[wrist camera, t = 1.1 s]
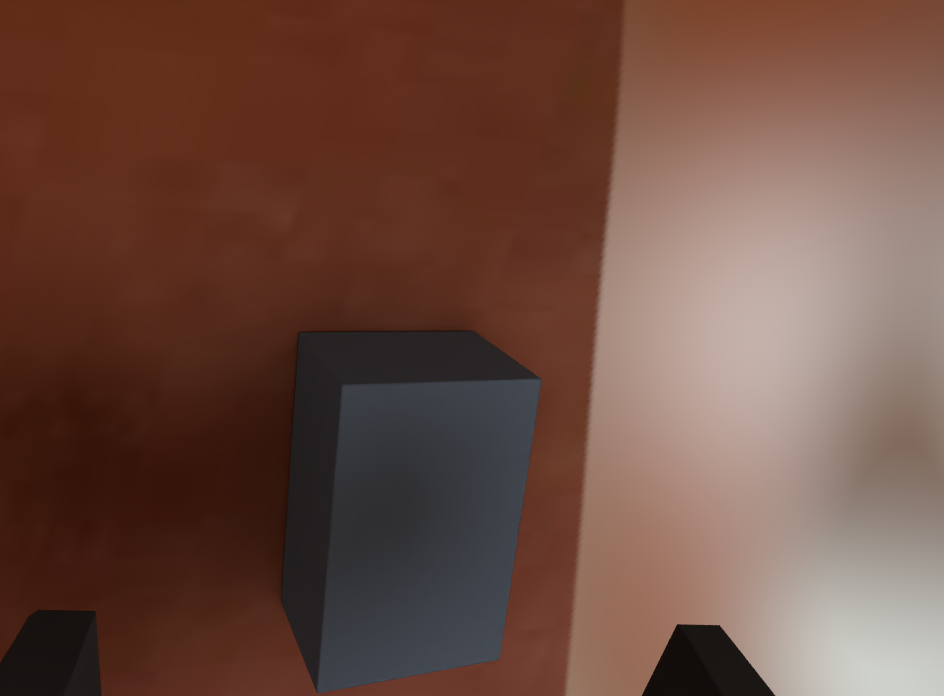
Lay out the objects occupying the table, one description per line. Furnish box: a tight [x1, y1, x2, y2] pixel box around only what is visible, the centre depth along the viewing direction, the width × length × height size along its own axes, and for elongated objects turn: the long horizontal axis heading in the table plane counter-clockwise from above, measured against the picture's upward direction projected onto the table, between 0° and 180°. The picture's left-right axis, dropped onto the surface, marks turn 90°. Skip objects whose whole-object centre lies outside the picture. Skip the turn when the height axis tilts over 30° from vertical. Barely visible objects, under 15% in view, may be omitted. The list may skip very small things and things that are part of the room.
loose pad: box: [281, 331, 541, 693], centre depth 23 cm, size 8×5×4 cm, turn 172°
